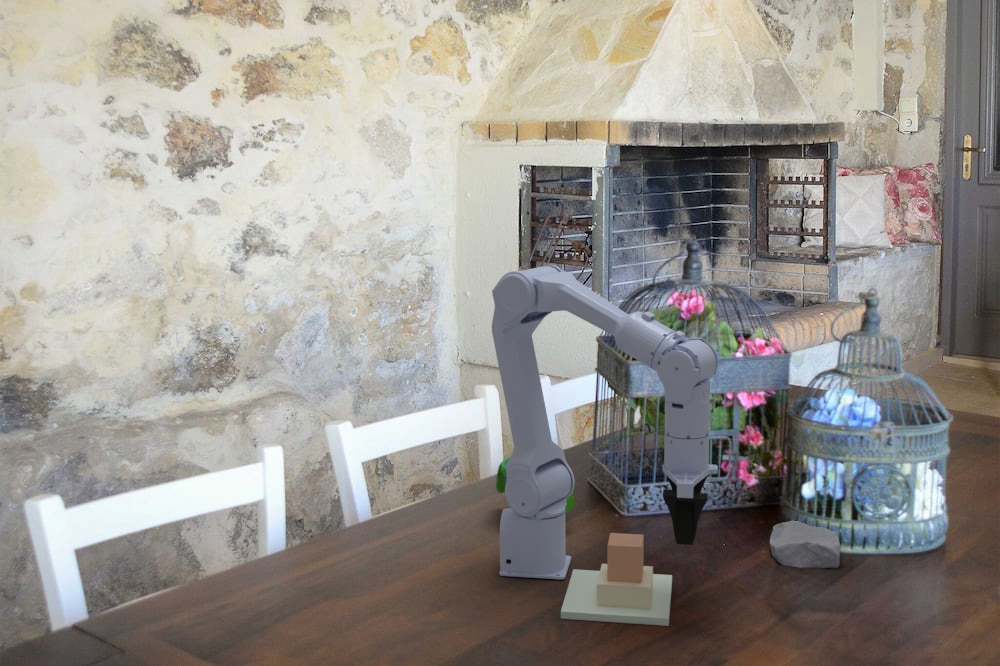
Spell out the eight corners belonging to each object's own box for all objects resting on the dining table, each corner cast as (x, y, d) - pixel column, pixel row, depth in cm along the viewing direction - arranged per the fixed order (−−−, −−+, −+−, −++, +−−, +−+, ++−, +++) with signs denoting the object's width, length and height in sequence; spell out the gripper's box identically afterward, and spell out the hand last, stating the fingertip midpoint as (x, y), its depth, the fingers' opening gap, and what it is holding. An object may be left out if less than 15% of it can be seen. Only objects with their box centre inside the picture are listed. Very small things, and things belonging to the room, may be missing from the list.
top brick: (607, 580, 144) (607, 545, 143) (610, 567, 148) (610, 532, 147) (641, 583, 143) (641, 547, 142) (643, 569, 147) (643, 534, 147)
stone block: (776, 579, 158) (846, 569, 156) (770, 548, 158) (840, 538, 156) (771, 551, 170) (836, 542, 168) (765, 522, 169) (831, 512, 167)
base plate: (560, 618, 142) (560, 589, 141) (573, 575, 156) (573, 549, 155) (668, 625, 140) (669, 596, 139) (672, 581, 153) (672, 555, 152)
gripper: (718, 450, 133) (716, 555, 135) (717, 419, 147) (715, 515, 149) (660, 448, 134) (659, 552, 137) (665, 417, 148) (664, 512, 151)
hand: (685, 532), depth 143 cm, fingers open, 7 cm apart
